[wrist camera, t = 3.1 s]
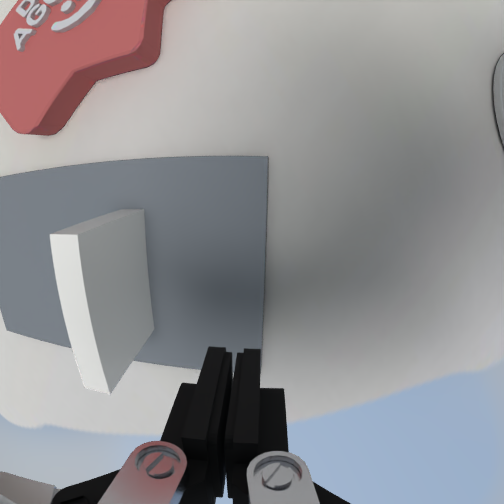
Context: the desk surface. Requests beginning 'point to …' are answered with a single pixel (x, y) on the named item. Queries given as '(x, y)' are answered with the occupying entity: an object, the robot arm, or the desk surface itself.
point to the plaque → (70, 54)
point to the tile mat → (148, 248)
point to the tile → (104, 293)
